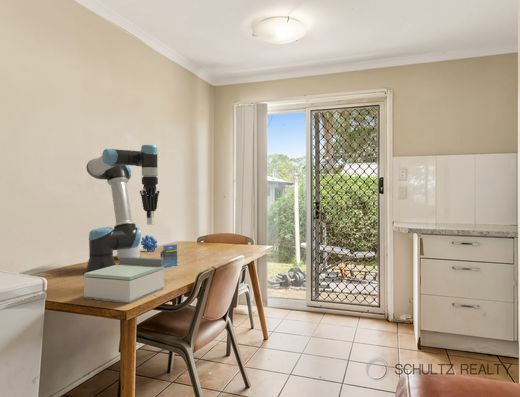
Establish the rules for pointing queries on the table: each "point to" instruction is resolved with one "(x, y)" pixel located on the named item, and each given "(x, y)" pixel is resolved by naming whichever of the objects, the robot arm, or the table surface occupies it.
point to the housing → (123, 287)
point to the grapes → (149, 243)
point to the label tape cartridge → (169, 255)
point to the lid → (129, 268)
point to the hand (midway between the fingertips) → (150, 224)
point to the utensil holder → (129, 252)
